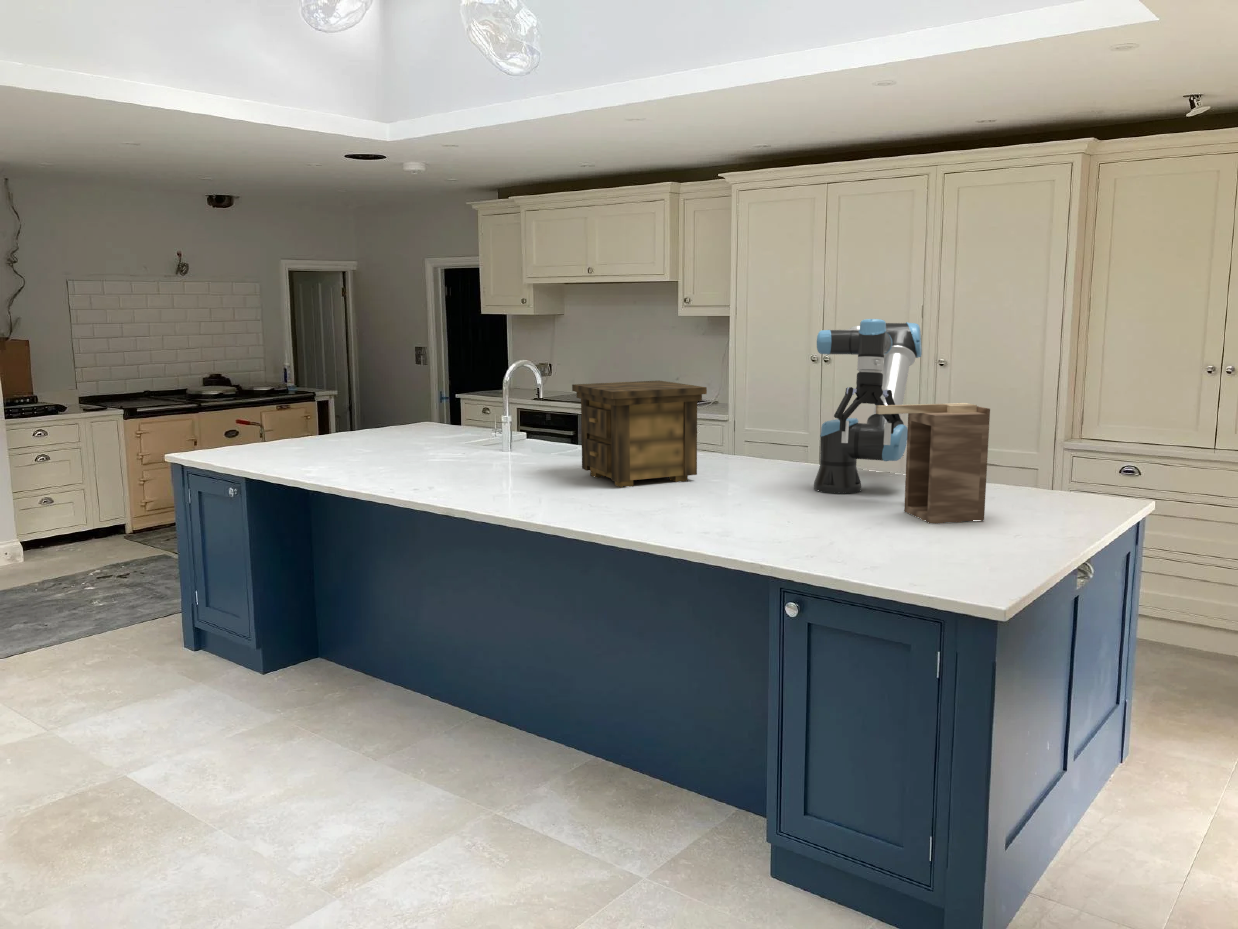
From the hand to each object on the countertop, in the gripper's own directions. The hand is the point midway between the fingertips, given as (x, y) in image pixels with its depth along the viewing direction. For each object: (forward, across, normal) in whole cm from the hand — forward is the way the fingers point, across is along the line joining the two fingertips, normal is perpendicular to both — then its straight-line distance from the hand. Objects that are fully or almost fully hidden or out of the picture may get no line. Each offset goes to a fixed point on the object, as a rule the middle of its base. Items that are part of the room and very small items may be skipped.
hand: (865, 444), depth 283 cm
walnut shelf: (+19, +18, -15) cm, 30 cm away
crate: (+17, -52, +68) cm, 87 cm away
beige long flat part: (-10, +8, -18) cm, 22 cm away
